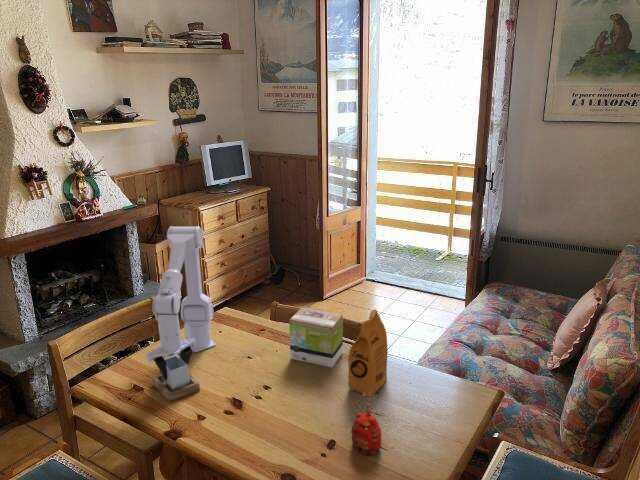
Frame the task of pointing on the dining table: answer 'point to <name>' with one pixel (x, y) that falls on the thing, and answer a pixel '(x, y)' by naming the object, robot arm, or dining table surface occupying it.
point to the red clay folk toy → (366, 432)
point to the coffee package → (368, 356)
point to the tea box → (316, 337)
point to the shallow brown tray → (177, 393)
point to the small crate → (176, 372)
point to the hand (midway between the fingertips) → (174, 374)
